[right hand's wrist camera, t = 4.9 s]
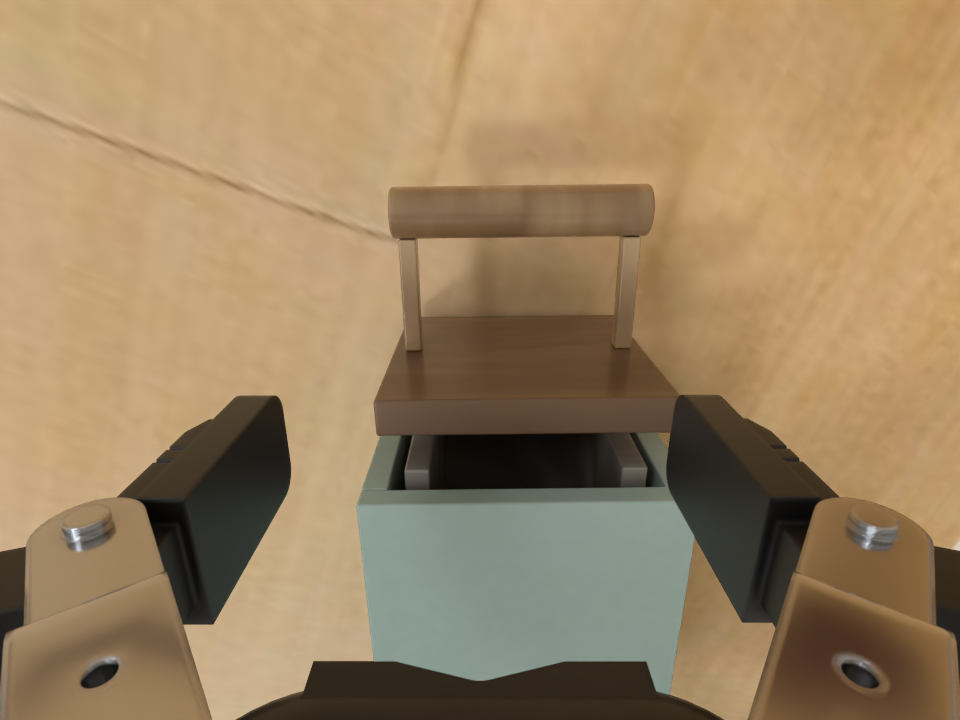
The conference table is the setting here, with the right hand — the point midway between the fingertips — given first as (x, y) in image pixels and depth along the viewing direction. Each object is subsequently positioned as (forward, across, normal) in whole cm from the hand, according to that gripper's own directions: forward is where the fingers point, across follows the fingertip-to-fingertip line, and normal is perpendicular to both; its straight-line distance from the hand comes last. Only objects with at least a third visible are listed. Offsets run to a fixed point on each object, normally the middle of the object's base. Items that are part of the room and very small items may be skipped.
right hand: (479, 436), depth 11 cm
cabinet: (+14, +2, -14) cm, 20 cm away
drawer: (+13, +1, -8) cm, 16 cm away
